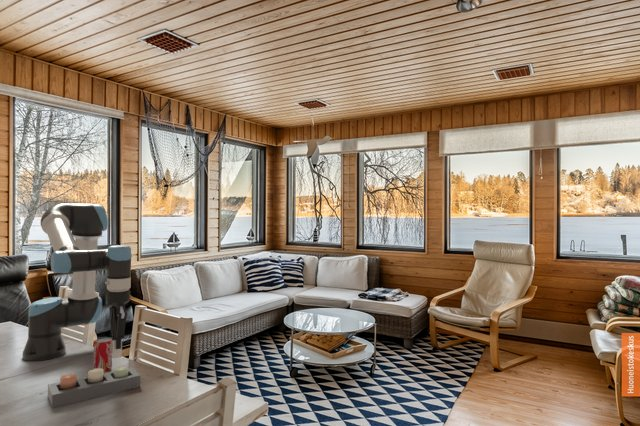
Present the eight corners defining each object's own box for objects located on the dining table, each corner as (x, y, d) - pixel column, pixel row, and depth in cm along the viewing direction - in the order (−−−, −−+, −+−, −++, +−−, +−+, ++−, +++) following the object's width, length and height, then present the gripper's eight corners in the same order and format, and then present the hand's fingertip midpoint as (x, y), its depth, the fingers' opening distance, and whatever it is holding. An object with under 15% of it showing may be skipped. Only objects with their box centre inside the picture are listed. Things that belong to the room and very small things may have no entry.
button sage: (112, 377, 144) (112, 368, 144) (126, 374, 147) (126, 366, 147) (115, 381, 141) (115, 372, 141) (129, 378, 144) (130, 369, 144)
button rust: (58, 385, 134) (59, 375, 134) (75, 381, 137) (75, 372, 137) (61, 389, 131) (61, 380, 131) (77, 386, 134) (77, 377, 134)
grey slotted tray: (47, 396, 135) (48, 384, 135) (131, 377, 151) (132, 366, 151) (52, 408, 127) (52, 395, 127) (140, 386, 144) (140, 375, 144)
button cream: (86, 379, 139) (86, 370, 139) (101, 376, 142) (101, 367, 142) (89, 383, 136) (89, 374, 136) (104, 380, 139) (105, 371, 139)
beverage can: (103, 375, 153) (104, 343, 153) (89, 373, 154) (90, 341, 154) (115, 369, 159) (116, 338, 159) (101, 367, 160) (102, 337, 160)
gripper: (102, 288, 146) (100, 354, 146) (111, 293, 136) (110, 365, 136) (124, 286, 151) (123, 350, 151) (135, 291, 141) (133, 360, 141)
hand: (116, 357), depth 143 cm, fingers closed
